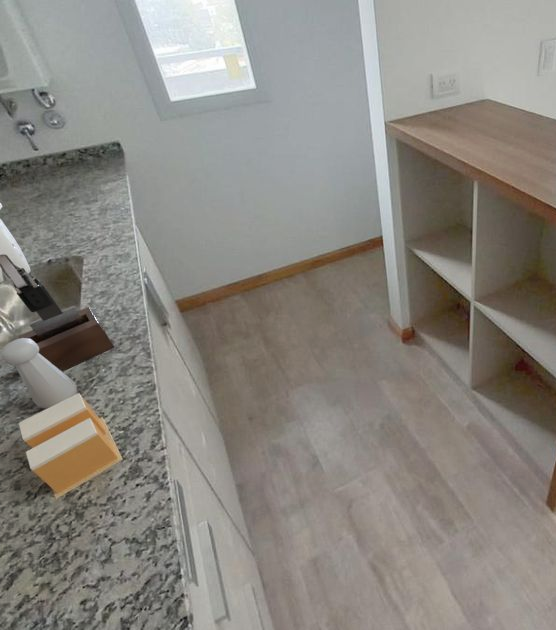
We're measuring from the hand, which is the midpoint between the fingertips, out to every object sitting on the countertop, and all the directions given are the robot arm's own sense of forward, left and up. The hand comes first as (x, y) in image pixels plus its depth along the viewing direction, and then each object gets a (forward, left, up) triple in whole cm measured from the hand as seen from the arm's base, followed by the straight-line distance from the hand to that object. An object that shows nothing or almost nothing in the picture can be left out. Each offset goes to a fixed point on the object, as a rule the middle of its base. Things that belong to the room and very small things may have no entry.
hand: (40, 304), depth 76 cm
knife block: (0, 0, -12) cm, 12 cm away
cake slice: (-5, -30, -11) cm, 33 cm away
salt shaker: (-5, -12, -12) cm, 18 cm away
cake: (-5, -27, -12) cm, 30 cm away
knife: (0, 0, -11) cm, 11 cm away
